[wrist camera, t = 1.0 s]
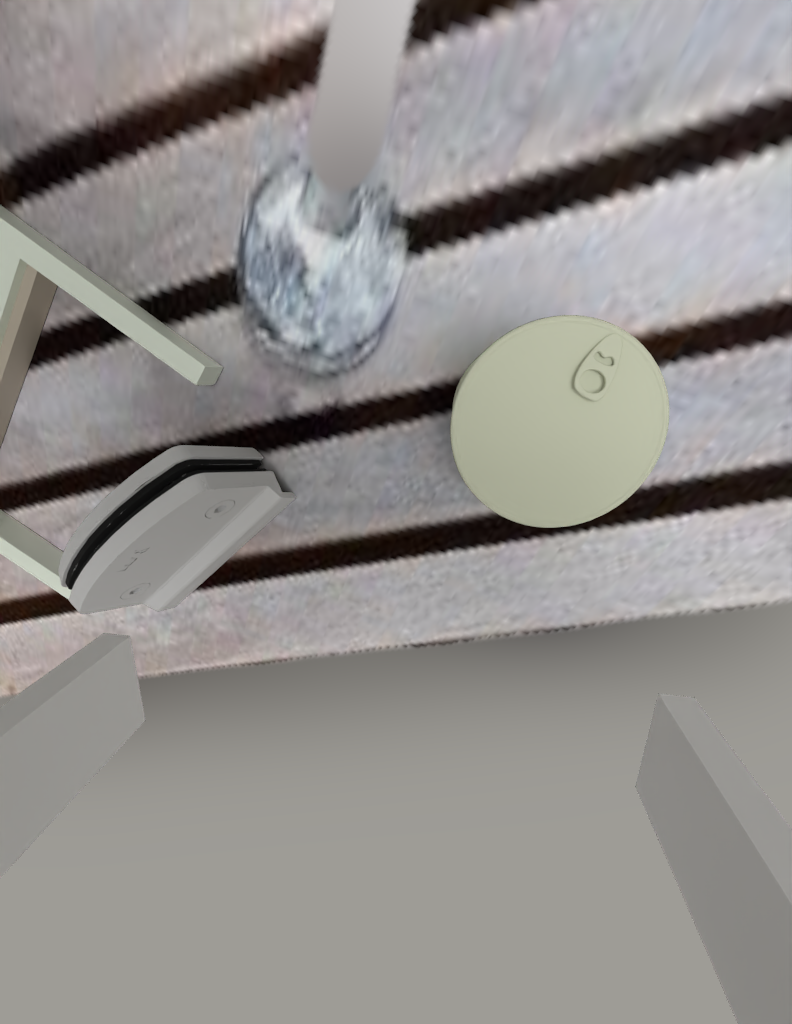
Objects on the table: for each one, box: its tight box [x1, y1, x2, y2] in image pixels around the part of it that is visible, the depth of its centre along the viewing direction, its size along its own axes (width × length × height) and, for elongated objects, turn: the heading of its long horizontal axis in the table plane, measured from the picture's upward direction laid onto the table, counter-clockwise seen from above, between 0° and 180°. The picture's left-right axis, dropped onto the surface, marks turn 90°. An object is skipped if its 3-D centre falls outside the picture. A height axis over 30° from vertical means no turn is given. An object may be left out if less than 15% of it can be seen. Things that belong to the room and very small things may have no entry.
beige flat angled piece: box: [0, 205, 224, 600], centre depth 34 cm, size 20×24×2 cm
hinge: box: [58, 445, 296, 614], centre depth 32 cm, size 17×5×10 cm, turn 132°
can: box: [450, 315, 669, 528], centre depth 24 cm, size 9×9×12 cm
